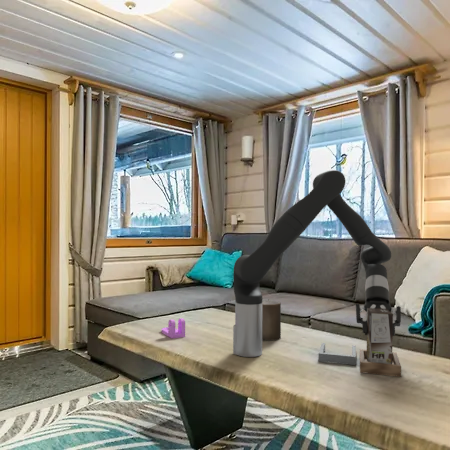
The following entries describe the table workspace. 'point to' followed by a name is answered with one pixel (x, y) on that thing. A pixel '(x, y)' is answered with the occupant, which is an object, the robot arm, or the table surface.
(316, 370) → the table surface
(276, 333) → the pillar candle
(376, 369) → the tray
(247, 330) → the robot arm
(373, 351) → the coffee box
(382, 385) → the table surface
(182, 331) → the bracket
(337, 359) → the bay
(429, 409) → the table surface
